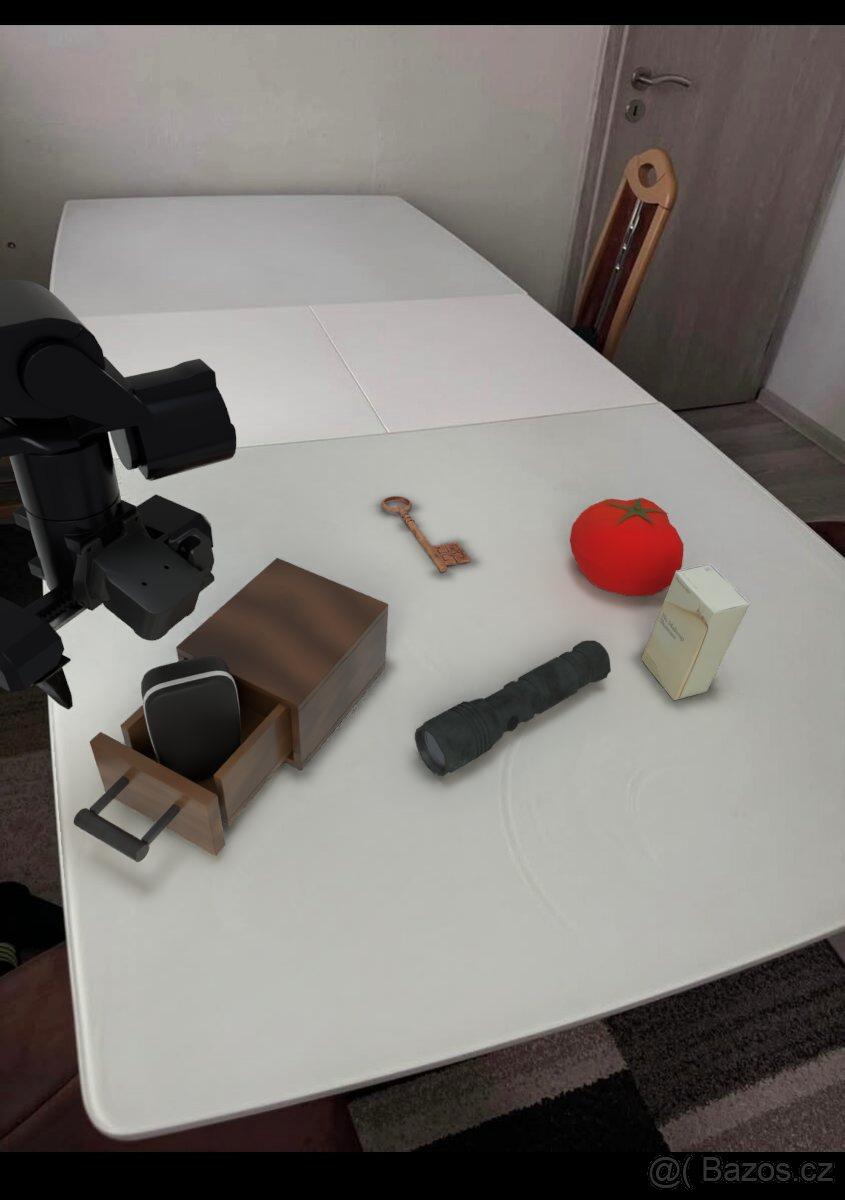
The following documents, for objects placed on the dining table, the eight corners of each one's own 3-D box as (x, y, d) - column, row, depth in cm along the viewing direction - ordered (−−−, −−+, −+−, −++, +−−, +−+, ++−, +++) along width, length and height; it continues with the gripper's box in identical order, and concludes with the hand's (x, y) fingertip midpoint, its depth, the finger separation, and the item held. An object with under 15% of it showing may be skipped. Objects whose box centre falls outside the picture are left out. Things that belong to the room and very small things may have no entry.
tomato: (656, 626, 88) (682, 552, 82) (548, 584, 93) (565, 510, 86) (684, 572, 96) (710, 500, 89) (583, 535, 100) (601, 463, 93)
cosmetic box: (639, 659, 84) (671, 569, 76) (675, 650, 86) (709, 560, 78) (674, 703, 80) (712, 612, 72) (711, 692, 81) (752, 602, 73)
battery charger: (237, 735, 71) (225, 641, 63) (248, 768, 68) (236, 675, 61) (155, 757, 69) (132, 663, 61) (162, 792, 66) (140, 699, 58)
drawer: (173, 908, 60) (160, 859, 55) (59, 838, 63) (38, 787, 59) (313, 739, 72) (311, 688, 68) (211, 689, 76) (203, 637, 72)
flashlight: (411, 750, 73) (414, 714, 70) (572, 660, 84) (582, 625, 80) (445, 789, 71) (450, 753, 67) (608, 690, 81) (619, 655, 77)
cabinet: (301, 770, 71) (298, 705, 65) (187, 712, 75) (175, 647, 69) (385, 667, 81) (388, 603, 75) (280, 621, 85) (276, 557, 79)
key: (472, 567, 94) (418, 496, 104) (473, 561, 94) (419, 490, 103) (427, 574, 92) (376, 502, 102) (428, 568, 91) (377, 495, 101)
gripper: (45, 628, 42) (99, 803, 53) (266, 472, 55) (274, 637, 65) (-97, 552, 46) (-21, 731, 56) (141, 422, 59) (168, 587, 69)
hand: (113, 667), depth 62 cm, fingers open, 9 cm apart
